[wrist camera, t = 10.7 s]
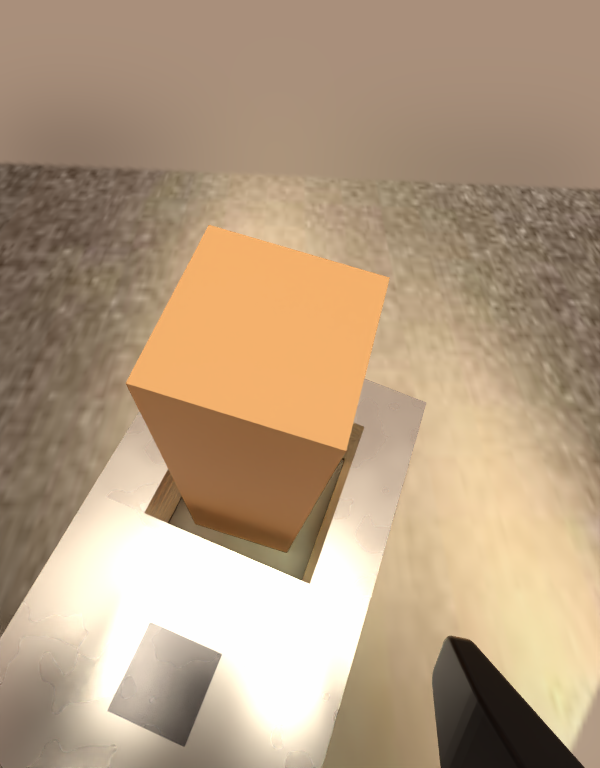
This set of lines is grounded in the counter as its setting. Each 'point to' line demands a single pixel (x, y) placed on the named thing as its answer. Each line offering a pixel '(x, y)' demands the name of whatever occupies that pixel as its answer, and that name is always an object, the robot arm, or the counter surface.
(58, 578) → the white peg board
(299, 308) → the orange post
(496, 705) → the robot arm
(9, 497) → the counter surface
